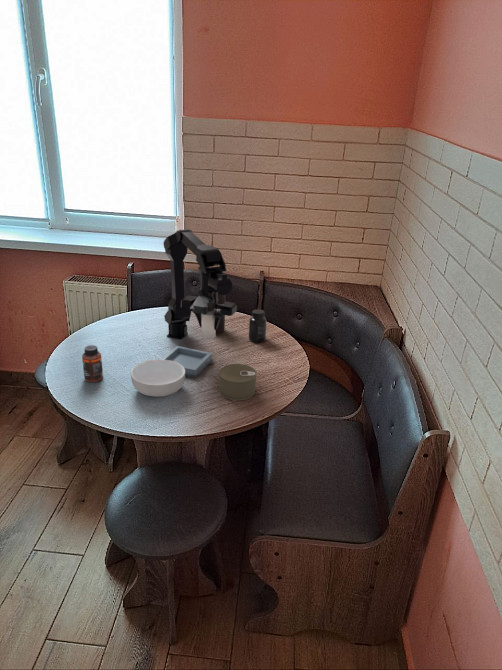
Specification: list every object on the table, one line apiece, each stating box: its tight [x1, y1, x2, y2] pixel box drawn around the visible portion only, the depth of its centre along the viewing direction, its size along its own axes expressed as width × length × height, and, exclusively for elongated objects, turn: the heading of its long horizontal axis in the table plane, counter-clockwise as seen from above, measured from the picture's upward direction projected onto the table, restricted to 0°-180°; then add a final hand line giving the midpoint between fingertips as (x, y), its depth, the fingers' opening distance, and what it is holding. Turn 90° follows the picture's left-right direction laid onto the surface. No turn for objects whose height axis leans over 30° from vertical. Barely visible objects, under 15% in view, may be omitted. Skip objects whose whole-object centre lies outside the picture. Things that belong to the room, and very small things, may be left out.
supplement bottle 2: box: [248, 309, 268, 344], centre depth 195 cm, size 7×7×12 cm
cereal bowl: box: [130, 358, 186, 398], centre depth 157 cm, size 17×17×7 cm
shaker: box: [200, 309, 217, 340], centre depth 172 cm, size 5×5×10 cm
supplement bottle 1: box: [81, 344, 104, 383], centre depth 161 cm, size 6×6×11 cm
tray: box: [161, 345, 213, 379], centre depth 174 cm, size 14×14×3 cm
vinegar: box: [216, 293, 226, 335], centre depth 199 cm, size 7×7×20 cm
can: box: [218, 363, 257, 402], centre depth 159 cm, size 12×12×7 cm
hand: (208, 328), depth 173 cm, fingers closed on shaker, 5 cm apart
